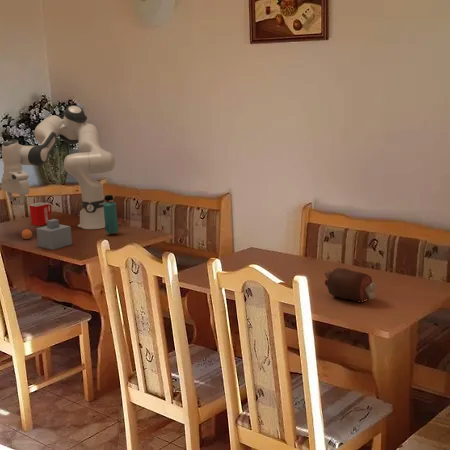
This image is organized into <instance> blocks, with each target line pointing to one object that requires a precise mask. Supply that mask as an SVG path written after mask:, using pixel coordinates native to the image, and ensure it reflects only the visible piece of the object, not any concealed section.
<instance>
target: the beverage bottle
mask: <svg viewBox="0 0 450 450" xmlns="http://www.w3.org/2000/svg"><path fill="white" fill-rule="evenodd" d="M104 198H105V200H106V201H105V203H104V204H103V207H104V218H105V228H104V229H105V233H106V234H116V233H119V222H118V213H117V203H116V202H114V196H113V195H112V194H107V195H106V194H105V196H104Z"/></svg>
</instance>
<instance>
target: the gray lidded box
mask: <svg viewBox="0 0 450 450" xmlns="http://www.w3.org/2000/svg"><path fill="white" fill-rule="evenodd" d="M59 220H60V219H56V218H51V219H50V220H47V224H46V225H44V226H41V227H40V226H39V227H37V228H36V238H37V242H38V244H37V247H38V248H44V249H48V250H51V251H52V250H53V251H54V250H58V249H61V248H65V247H67V246H71V245H73V240H72V227H71V226H70V225H66V224H65V225H64V224H60V221H59Z"/></svg>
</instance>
